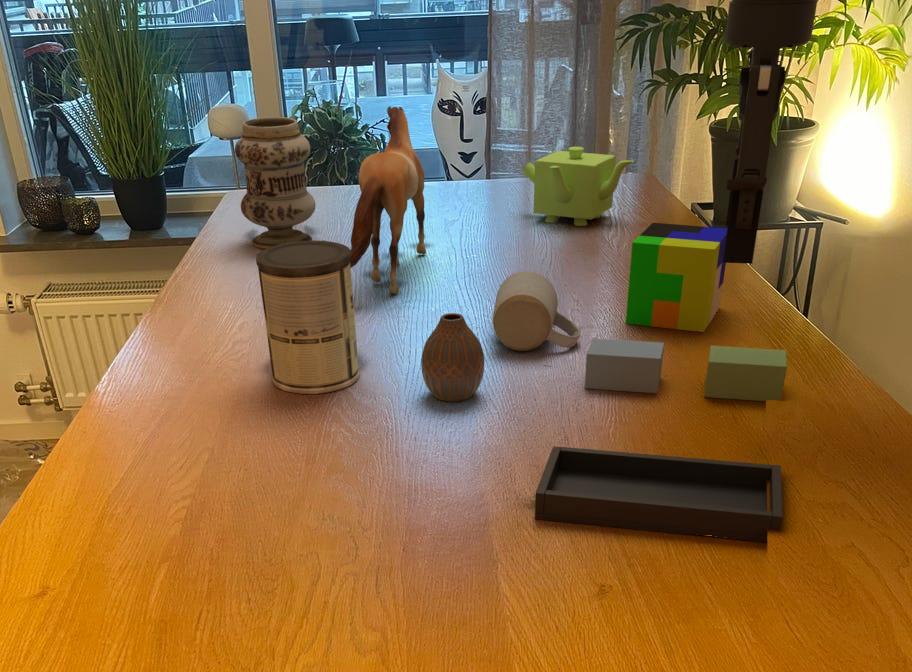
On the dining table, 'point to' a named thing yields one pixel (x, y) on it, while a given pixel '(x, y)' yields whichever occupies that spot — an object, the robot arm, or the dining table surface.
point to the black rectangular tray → (660, 493)
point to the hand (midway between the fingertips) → (738, 243)
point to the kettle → (574, 184)
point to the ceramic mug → (530, 313)
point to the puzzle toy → (676, 276)
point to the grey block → (624, 365)
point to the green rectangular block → (745, 373)
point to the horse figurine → (388, 196)
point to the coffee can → (309, 315)
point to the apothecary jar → (275, 179)
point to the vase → (452, 360)
